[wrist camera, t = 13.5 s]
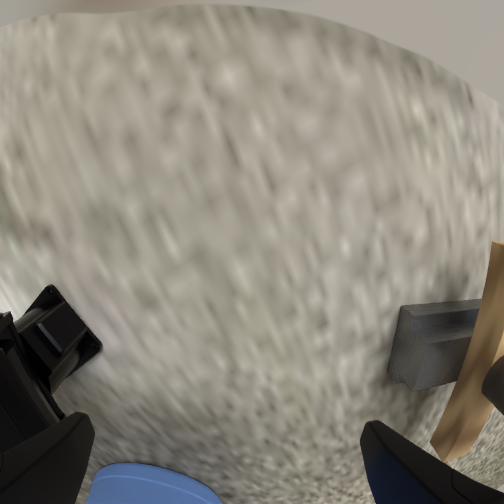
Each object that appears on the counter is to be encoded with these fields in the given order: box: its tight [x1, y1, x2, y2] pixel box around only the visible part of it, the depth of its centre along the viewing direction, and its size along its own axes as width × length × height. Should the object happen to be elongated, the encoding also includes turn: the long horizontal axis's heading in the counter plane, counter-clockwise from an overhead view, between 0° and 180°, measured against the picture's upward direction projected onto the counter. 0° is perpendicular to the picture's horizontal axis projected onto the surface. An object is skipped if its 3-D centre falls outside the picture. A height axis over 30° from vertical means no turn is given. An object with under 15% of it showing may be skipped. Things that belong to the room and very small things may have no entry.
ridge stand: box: [387, 299, 482, 391], centre depth 20 cm, size 12×6×4 cm, turn 89°
